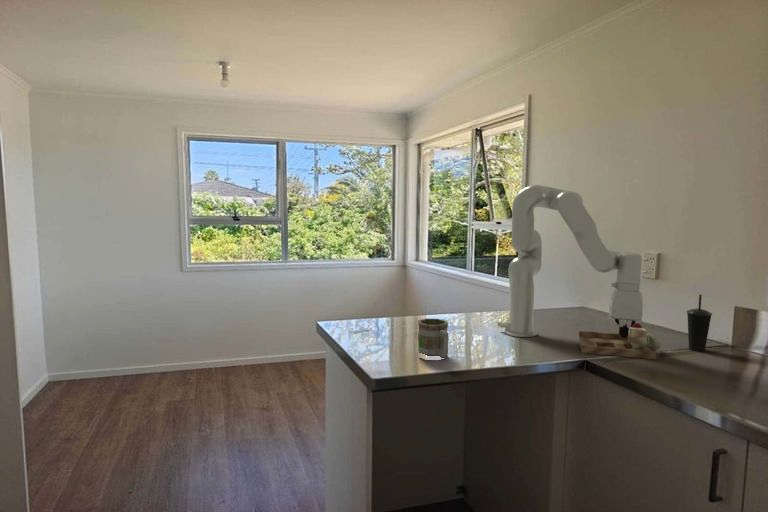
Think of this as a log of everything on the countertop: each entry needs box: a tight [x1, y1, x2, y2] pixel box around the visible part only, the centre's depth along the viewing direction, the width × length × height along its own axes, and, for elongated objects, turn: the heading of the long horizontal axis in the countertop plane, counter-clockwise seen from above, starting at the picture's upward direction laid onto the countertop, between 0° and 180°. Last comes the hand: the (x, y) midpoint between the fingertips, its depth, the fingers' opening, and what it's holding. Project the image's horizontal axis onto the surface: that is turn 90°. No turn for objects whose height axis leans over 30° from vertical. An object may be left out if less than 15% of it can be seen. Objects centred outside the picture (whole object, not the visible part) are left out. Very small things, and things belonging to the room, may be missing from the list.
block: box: [628, 327, 648, 346], centre depth 168 cm, size 5×5×5 cm
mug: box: [417, 318, 450, 359], centre depth 159 cm, size 16×11×12 cm
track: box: [578, 330, 661, 360], centre depth 167 cm, size 24×14×6 cm, turn 71°
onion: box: [630, 323, 643, 328], centre depth 182 cm, size 6×6×8 cm
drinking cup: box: [686, 294, 713, 352], centre depth 167 cm, size 8×8×20 cm
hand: (623, 337), depth 169 cm, fingers closed
